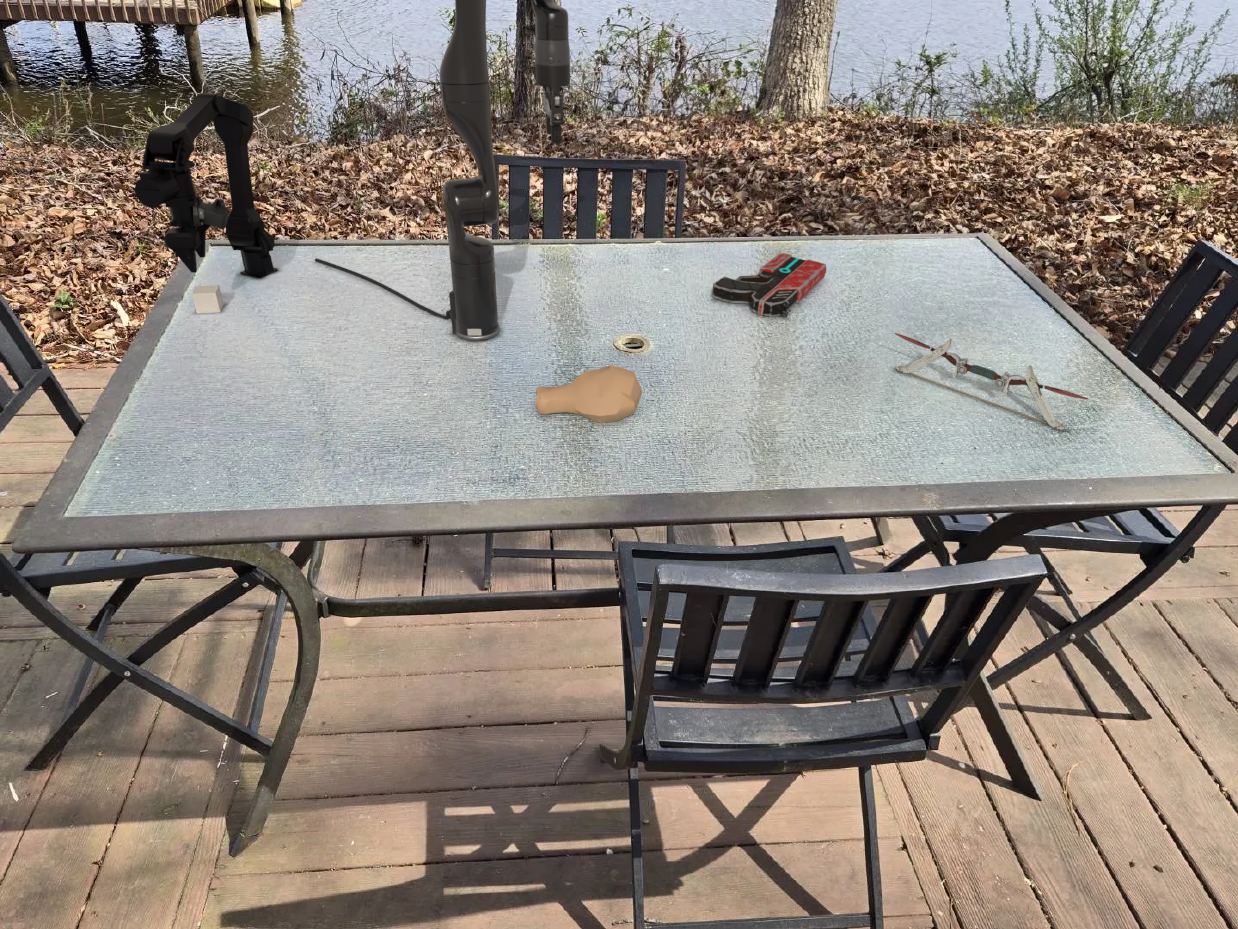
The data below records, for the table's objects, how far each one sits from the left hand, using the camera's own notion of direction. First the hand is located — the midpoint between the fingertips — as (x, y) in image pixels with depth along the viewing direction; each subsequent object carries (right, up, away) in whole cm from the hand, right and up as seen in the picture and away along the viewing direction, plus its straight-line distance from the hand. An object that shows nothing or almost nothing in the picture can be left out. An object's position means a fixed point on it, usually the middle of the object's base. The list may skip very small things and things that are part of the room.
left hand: (198, 264), depth 193 cm
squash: (+87, -35, -29) cm, 98 cm away
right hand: (+78, +30, +5) cm, 84 cm away
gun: (+130, -1, +23) cm, 132 cm away
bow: (+164, -31, -20) cm, 168 cm away
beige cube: (0, -9, +6) cm, 11 cm away
